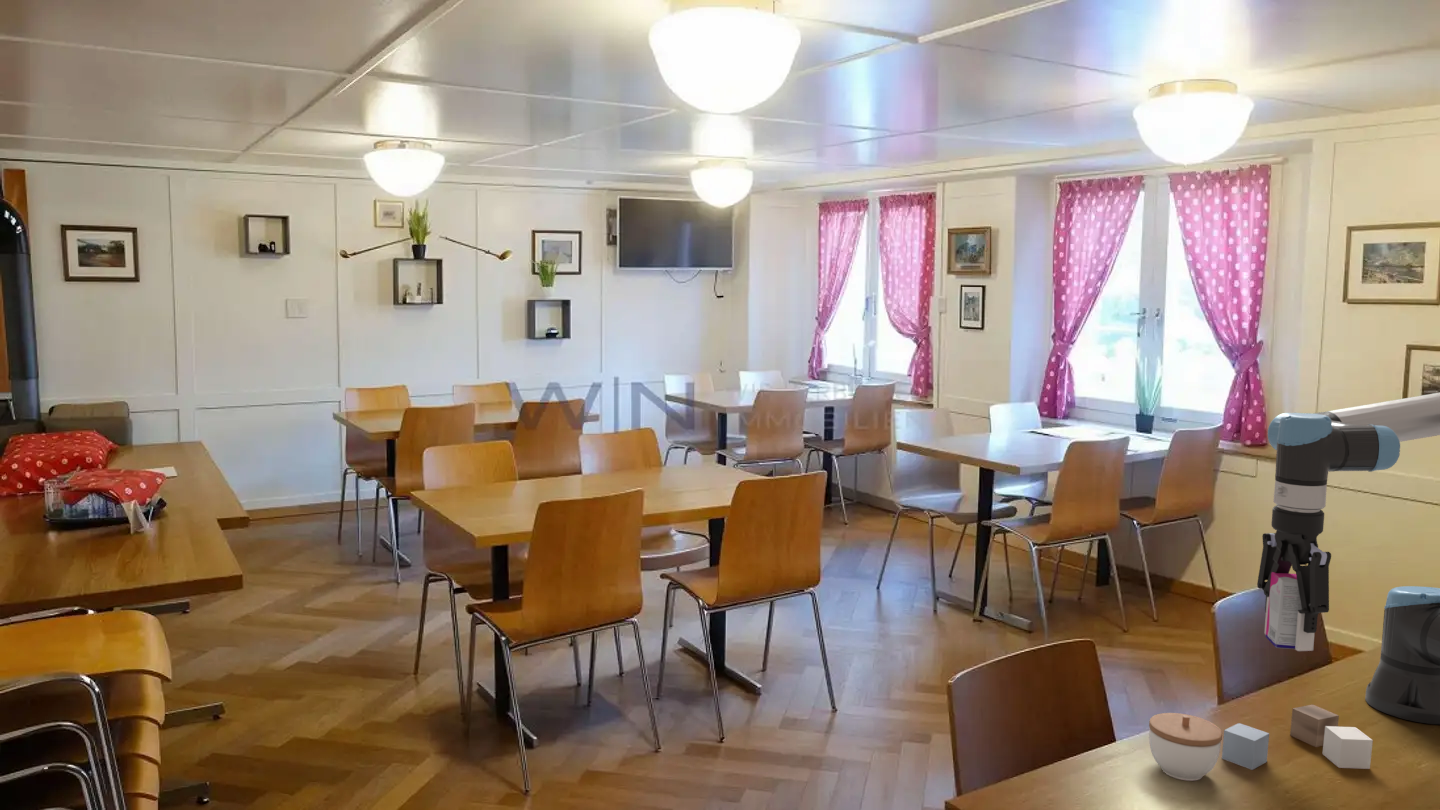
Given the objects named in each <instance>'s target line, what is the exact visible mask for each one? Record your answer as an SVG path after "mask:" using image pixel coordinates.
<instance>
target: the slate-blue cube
mask: <svg viewBox="0 0 1440 810" xmlns="http://www.w3.org/2000/svg"><path fill="white" fill-rule="evenodd" d="M1222 739H1223V740H1222V754H1221V759H1222V760H1225V761H1227V762H1231V763H1233V764H1235V765H1238V766H1241V767H1243V768H1247V769H1248V770H1251V771H1253V770H1255V769H1256V768H1258V767H1260V766H1262V765H1264V764H1266V763H1267V762H1268V754H1269V753H1268V752H1269V751H1268V750H1269V742H1270V741H1269V740H1270V732H1266V731H1263V730H1262V729H1261V730H1260V729H1257V728H1254V727H1253V726H1249V725H1246V724H1243V723H1240V722H1237V723H1236V724H1233V725H1231V726H1230V727H1227V728H1226V729H1224V730H1223V738H1222Z"/></svg>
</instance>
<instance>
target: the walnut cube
mask: <svg viewBox="0 0 1440 810" xmlns="http://www.w3.org/2000/svg"><path fill="white" fill-rule="evenodd" d="M1291 710H1292V713H1291V722H1290V724H1291V725H1290V732H1289V733H1290V734H1289V735H1290V736H1291V737H1293V738H1295V739H1297V740H1300V741H1302V742H1304V743H1306V744H1308V745H1310V746H1312V747H1315V748H1319V747H1323V743H1324V733H1325V726H1337V727H1339V719H1340V718H1339V717H1340V715H1338V714H1337V713H1334V712H1331V711H1330V710H1327V709H1325V708H1322V707H1319V706H1318V705H1314V704H1308V705H1303V706H1299V707H1294V708H1292V709H1291Z"/></svg>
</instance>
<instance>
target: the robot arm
mask: <svg viewBox="0 0 1440 810" xmlns="http://www.w3.org/2000/svg"><path fill="white" fill-rule="evenodd" d="M1437 436H1440V392H1434V393H1430V394H1424V395H1418V396H1412V397H1411V396H1410V397H1406V398H1400V399H1394V400H1392V399H1391V400H1387V401H1382V402H1381V401H1380V402H1375V403H1369V404H1364V405H1363V404H1362V405H1356V406H1350V407H1346V408H1345V407H1344V408H1339V409H1333V410H1327V411H1321V412H1313V413H1310V412H1307V413H1306V412H1304V413H1303V412H1283V413H1280V414H1278V415H1276V416H1275V417H1274V418H1273V419H1272V420H1271V421H1270V423H1269V425H1268V429H1267V439H1268V443H1269V444H1270V446H1271V447H1272V448H1273V449H1274V450H1275V451H1276V456H1275V457H1276V459H1275V475H1274V476H1275V478H1274V489H1273V491H1274V493H1273V503H1274V504H1275V505H1274V506H1273V507H1272V510H1271V511H1272V512H1271V527H1272V529H1273V530H1275V531H1276V532H1274V533H1273V532H1272V533H1271V532H1270V533H1269V532H1267V533H1262V552H1261V558H1260V565H1259V572H1258V576H1257V588H1258V589H1259V590H1262V591H1263V594H1264V595H1265V601H1264V602H1265V604H1264V605H1265V607H1264V611H1265V621H1264V631H1263V632H1264V633H1263V634H1264V635H1266V626H1267V616H1268V605H1269V594H1270V583H1271V573H1272V572H1274V573H1289V574H1290V570H1291V568H1292V570H1293V571H1294V572H1295V574H1296V576H1297V582H1298V588H1299V594H1300V600H1301V606H1302V610H1298V618H1297V631H1296V644H1295V649H1294V650H1295V651H1297V652H1308V651H1309V652H1310V651H1311V652H1313V651H1314V644H1315V643H1314V642H1315V633H1316V632H1317V631H1318V630H1317V627H1318V616H1319V615H1320V614H1324V613H1328V612H1330V580H1329V579H1330V576H1329V575H1330V574H1329V573H1330V568H1329V567H1330V563H1331V559H1332V553H1331V551H1323V550H1321V549H1320V548H1319V544H1318V539H1317V538H1318V536H1319V535H1320V534H1321V535H1322V533H1323V532H1324V525H1325V523H1324V522H1325V512H1324V511H1323V509H1324V508H1326V503H1327V502H1326V501H1327V490H1328V489H1327V488H1328V487H1327V486H1328V477H1329V472H1330V473H1331V472H1370V473H1372V472H1374V471H1383V470H1388V469H1390V468H1392V467H1393V466H1394V465H1396V463H1397V461H1398V460H1399V458H1400V453H1401V442H1407V441H1414V440H1419V439H1425V438H1430V437H1431V438H1432V437H1437ZM1309 604H1310V606H1309ZM1383 611H1384V612H1383V623H1382V634H1381V635H1382V636H1381V647H1380V648H1381V649H1380V657H1379V663H1378V665H1377V667H1376V669H1375V671H1374V673H1373V676H1372V679H1371V680H1370V682H1368V684H1367V686H1366V689H1365V701H1366V703H1367V704H1368V705H1369V706H1370V707H1372V708H1374V709H1375V710H1377V711H1379V712H1382V713H1384V714H1387V715H1390V716H1392V717H1395V718H1399V719H1401V720H1402V719H1403V720H1406V721H1411V722H1415V723H1422V724H1428V725H1440V588H1439V587H1432V586H1431V587H1430V586H1417V585H1412V586H1411V585H1405V586H1403V585H1402V586H1396V587H1393V588H1391V589H1389V591H1388V592H1387V596H1386V602H1385V605H1384V609H1383Z"/></svg>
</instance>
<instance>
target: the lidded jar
mask: <svg viewBox="0 0 1440 810" xmlns="http://www.w3.org/2000/svg"><path fill="white" fill-rule="evenodd" d="M1148 723H1149V724H1148V727H1149V733H1148V735H1149V737H1148V739H1149V748H1150V752H1151V755H1152V757H1153V759H1154V761H1155V762H1156V764H1157V765H1158V766H1159V767H1160V768H1161V771H1162V770H1163V771H1162V772H1163V773H1164V772H1165V773H1166V775H1167V776H1168V777H1171V778H1173V779H1177V780H1180V781H1187V782H1190V781H1191V782H1195V781H1200V780H1201V779H1202V778H1203V776H1205V775H1207V774H1208V773H1210V772H1211V771H1212V770H1213V769H1214V767H1215V766H1216V763H1217V762H1218V760H1219V756H1220V753H1221V752H1220V751H1221V746H1222V745H1221V744H1222V743H1221V742H1222V741H1223V740H1222V739H1223V732H1222V729H1221V728H1220V727H1218V726H1217V725H1216V724H1215V723H1213V722H1211V721H1209V720H1206V718H1203V717H1200V716H1195V715H1193V714H1192V715H1191V714H1186V713H1180V712H1179V713H1178V712H1163V713H1158V714H1155V715H1153V716H1151V717H1150V719H1149V722H1148ZM1165 773H1164V774H1165Z"/></svg>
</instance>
